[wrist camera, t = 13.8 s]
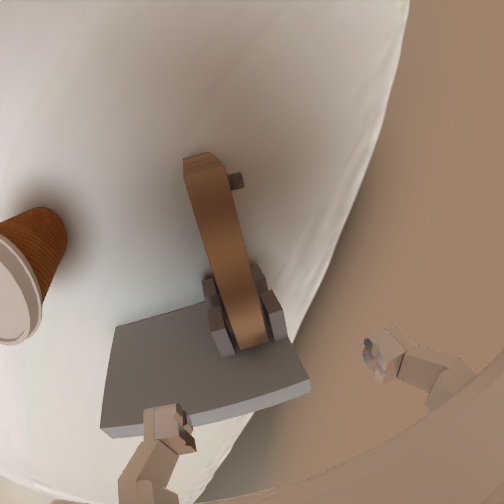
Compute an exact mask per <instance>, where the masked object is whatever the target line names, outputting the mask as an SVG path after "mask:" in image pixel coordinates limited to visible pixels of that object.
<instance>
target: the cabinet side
mask: <svg viewBox="0 0 504 504" xmlns="http://www.w3.org/2000/svg"><path fill="white" fill-rule="evenodd" d="M250 269H251V273H252V277H253V281H254V285H255V289H256V293H257V297H258V301H259V305H260V309H261V313H262V317H263V320H264V324H265V328H266V332H267V336H268V340H269V341H267V342H264V343H261V344H258V345H255V346H252V347H249V348H246V349H243V350H240V348H239V345H238V342H237V339H236V337H235V334H234V331H233V328H232V326H231V323H230V320H229V317H228V314H227V312H226V309H225V306H224V303H223V300H222V297H219V294H218V291H217V288H216V285H215V283H214V280H213V278H210V279H207V280H203V281H202V286H203V292H204V298H205V300H206V302H203V303H199V304H196V305H193V306H189V307H186V308H183V309H179V310H176V311H172V312H169V313H165V314H162V315H158V316H155V317H151V318H148V319H144V320H141V321H137V322H133V323H130V324H126V325H122V326H119V327H116V329H115V333H114V338H113V343H112V348H111V353H110V359H109V364H108V370H107V376H106V382H105V389H104V396H103V404H102V413H101V422H100V429H101V430H102V431H104V432H105V433H106V434H107V435H109V436H110V437H111V438H112V439H113V438H125V437H134V436H143V435H144V429H143V412H144V409H146V408H152V407H158V406H164V405H169V404H174V403H179V404H180V405H181V406H182V410H183V411H186V412H187V413H188V415H189V417H190V419H191V422H192V426H193V427H196V426H200V425H205V424H209V423H213V422H218V421H222V420H226V419H229V418H233V417H237V416H240V415H244V414H247V413H251V412H254V411H257V410H261V409H263V408H267V407H270V406H273V405H276V404H279V403H281V402H284V401H287V400H290V399H293V398H295V397H298V396H301V395H304V394H306V393H309V392H311V386H310V378H309V376H308V374H307V373H306V371H305V369H304V367H303V365H302V363H301V361H300V359H299V357H298V355H297V354H296V351H295V349H294V347H293V346H292V344H291V342H290V340H289V338H288V334H287V329H286V323H285V318H284V313H283V309H282V307H281V305H280V303H279V302H278V300H277V298H276V296H275V294H274V293H273V291H272V290H269V291H268V287H267V283H266V278H265V276H264V275H263V273H262V271H261V269H260V267H259V266H258V264H255V265H252V266H250Z"/></svg>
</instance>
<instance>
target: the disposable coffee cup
mask: <svg viewBox="0 0 504 504" xmlns="http://www.w3.org/2000/svg"><path fill="white" fill-rule="evenodd" d="M66 247H67V233H66V229H65V227H64V224H63V223H62V221H61V219H60V218H59V217H58V216H57V215H56V214H55V213H54V212H53V211H51V210H49V209H46V208H43V207H38V208H34V209H31V210H29V211H27V212H24V213H22V214H19V215H17V216H14V217H12V218H10V219H8V220H5V221H3V222H1V223H0V344H3V345H16V344H19V343H21V342H23V341H24V340H25V339H27V338H29V337H31V336H32V335H33V334H34V333H35V332H36V331H37V329H38V327H39V325H40V322H41V319H42V304H43V301H44V299H45V296H46V294H47V291H48V289H49V287H50V284H51V282H52V279H53V277H54V275H55V272H56V270H57V268H58V265H59V263H60V261H61V259H62V257H63V255H64V253H65V251H66Z"/></svg>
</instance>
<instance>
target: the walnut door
mask: <svg viewBox="0 0 504 504" xmlns="http://www.w3.org/2000/svg"><path fill="white" fill-rule="evenodd" d="M183 170H184V180H185V184H186V187H187V191H188V194H189V197H190V201H191V204H192V207H193V211H194V214H195V217H196V221H197V224H198V227H199V230H200V233H201V237H202V240H203V243H204V246H205V249H206V252H207V255H208V258H209V261H210V265H211V268H212V271H213V274H214V277H215V280H216V283H217V286H218V288H219V291H220V294H221V297H222V300H223V303H224V306H225V309H226V312H227V314H228V317H229V320H230V323H231V326H232V328H233V331H234V334H235V337H236V339H237V342H238V345H239V348H240V350H243V349H246V348H249V347H252V346H255V345H258V344H261V343H264V342H267V341H269V340H268V336H267V332H266V328H265V324H264V320H263V317H262V313H261V309H260V305H259V301H258V297H257V293H256V289H255V285H254V281H253V277H252V273H251V269H250V265H249V261H248V257H247V253H246V249H245V245H244V241H243V237H242V233H241V229H240V225H239V221H238V217H237V213H236V209H235V205H234V201H233V197H232V193H231V191H233V190H237V189H241V188H244V182H243V178H242V175H241V173H240V172H237V173H233V174H230V175H227V173H226V169H225V166H224V165H223V164H222V163H221V162H220V161H219V160H218V159H216V158H215V157H214V156H213V155H212V154H211V153H210V152H206V153H203V154H199V155H196V156H192V157H189V158H185V159H183Z"/></svg>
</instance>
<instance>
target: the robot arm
mask: <svg viewBox="0 0 504 504" xmlns="http://www.w3.org/2000/svg"><path fill="white" fill-rule="evenodd" d="M364 344H365V346H366V347H365V349H364V350H363V357H364V361H365V363H366V365H367V366H368V368H369V369H372V370H374V376H375V377H376V379H377V380H378V382H379V383H380V384H381V386H382V385H384V384H386V383H388V382H390V381H391V380H393V379H395V378H397V379H399V380H401V381H403V382H406V383H408V384H410V385H412V386H414V387H416V388H419V389H421V390H423V391H425V392H427V393H429V395H428V397H427V399H426V400H425V403H424V404H425V406H426V408H427V409H428V410H429V412H430V413H429V414H427V415H426V416H424V417H423V418H422V419H420V420H419V421H417V422H416V423H414V424H412V425H411V426H409V427H408V428H406V429H405V430H403V431H402V432H400V433H398V434H396V435H395V436H393V437H392V438H390V439H388V440H386V441H384V442H383V443H381V444H379V445H377V446H375V447H373V448H372V449H370V450H368V451H366V452H364V453H362V454H360V455H358V456H356V457H353V458H351V459H349V460H347V461H345V462H343V463H340V464H338V465H336V466H334V467H331V468H329V469H326V470H324V471H321V472H319V473H316V474H314V475H311V476H309V477H305V478H303V479H300V480H297V481H294V482H291V483H288V484H284V485H281V486H278V487H275V488H271V489H267V490H263V491H260V492H256V493H252V494H247V495H243V496H238V497H233V498H228V499H223V500H216V501H211V502H203V503H195V504H504V349H503V350H502V351H501V352H500V353H499V354H498V355H497V356H496V357H495V358H494V359H493V360H492V361H491V362H490V363H489V364H488V365H487V366H486V367H485V368H484V369H483V370H482V371H481V372H479V373H478V374H476V373H475V372H474V371H473V370H472V369H471V368H470V367H469V366H468V365H467V364H466V362H465V361H464V360H462V358H461V357H458V356H455V355H451V354H448V353H444V352H441V351H438V350H434V349H431V348H428V347H424V346H421V345H417V346H416V345H415V344H414V343H413V342H412V341H411V340H410V339H409V338H408V337H407V336H406V335H405V333H404V332H403V331H402V330H401V329H400V328H399V327H398V326H397V325H395V324H392V325H390V326H388V327H387V328H385V329H382V330H380V331H378V332H376V333H374V334H372V335H370V336H369V337H367V338H365V340H364ZM143 429H144V442H141V443H140V445H139V446H138V448H137V449H136V451H135V453H134V454H133V456H132V458H131V459H130V461H129V463H128V464H127V466H126V468H125V469H124V471H123V473H122V474H121V476H120V477H119V479H118V495H119V504H179V499H178V495H177V494H176V493H174V492H172V491H170V490H168V489H166V486H167V484H168V481H169V479H170V477H171V474H172V472H173V469H174V467H175V465H176V462H177V460H178V457H179V456H178V455H182V454H188V453H193V452H197V451H196V445H195V439H194V438H193V437H192V436H191V433H192V431H193V426H192V422H191V419H190V417H189V415H188V413H187V412H186V411H183V410H182V406H181V405H180V404H179V403H174V404H169V405H164V406H158V407H152V408H146V409H144V412H143ZM51 504H88V503H80V502H74V501H68V500H62V499H56V500H54V501H53V502H52V503H51Z"/></svg>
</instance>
